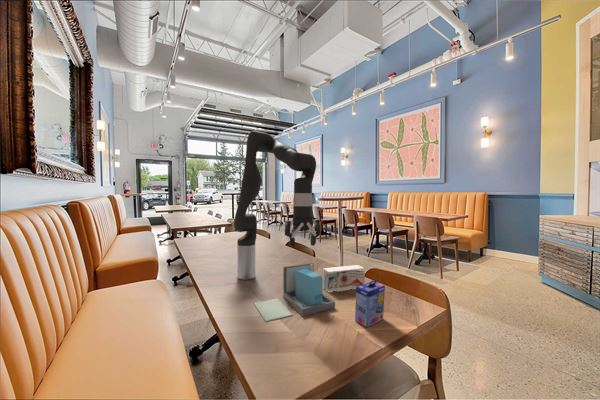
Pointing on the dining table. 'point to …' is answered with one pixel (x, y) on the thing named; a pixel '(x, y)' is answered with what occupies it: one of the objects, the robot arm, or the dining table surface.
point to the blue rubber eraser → (308, 287)
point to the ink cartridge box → (369, 303)
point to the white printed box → (343, 278)
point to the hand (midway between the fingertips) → (302, 246)
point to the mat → (272, 309)
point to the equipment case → (290, 296)
